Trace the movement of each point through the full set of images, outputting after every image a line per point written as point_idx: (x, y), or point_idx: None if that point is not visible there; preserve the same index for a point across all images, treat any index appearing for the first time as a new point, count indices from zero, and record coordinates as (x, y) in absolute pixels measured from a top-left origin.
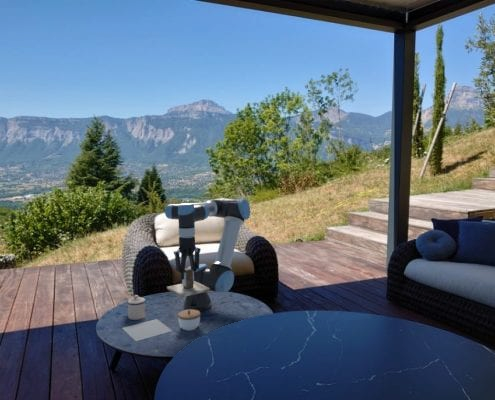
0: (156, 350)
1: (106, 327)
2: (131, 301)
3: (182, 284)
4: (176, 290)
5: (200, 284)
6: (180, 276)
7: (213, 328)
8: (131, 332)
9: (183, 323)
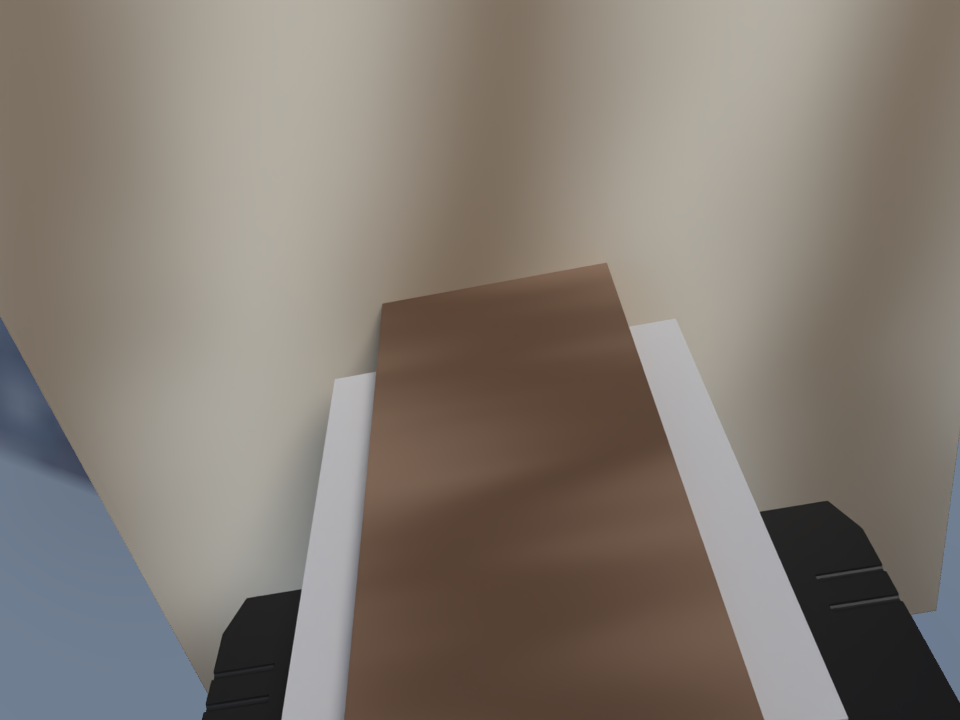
0: (19, 399)
1: None
2: None
3: (338, 410)
4: (145, 462)
5: (942, 276)
6: (212, 692)
7: None
8: None
9: None
